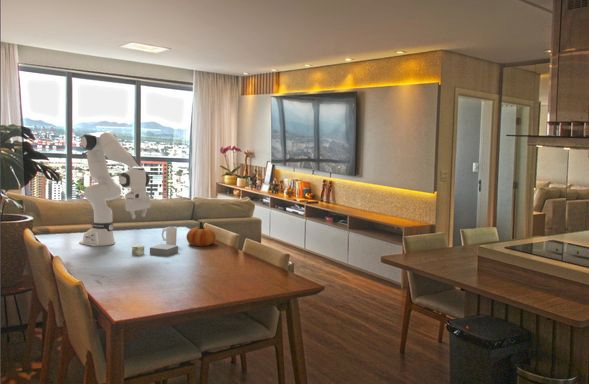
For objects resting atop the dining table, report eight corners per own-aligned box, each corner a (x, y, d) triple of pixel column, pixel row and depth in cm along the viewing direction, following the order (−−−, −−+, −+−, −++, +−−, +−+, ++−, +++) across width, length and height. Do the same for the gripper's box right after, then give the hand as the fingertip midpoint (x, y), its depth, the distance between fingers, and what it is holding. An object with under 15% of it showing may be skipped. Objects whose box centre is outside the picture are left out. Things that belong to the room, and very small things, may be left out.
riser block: (149, 254, 300) (149, 247, 300) (161, 250, 311) (161, 243, 311) (167, 256, 296) (167, 249, 296) (178, 252, 308) (178, 245, 307)
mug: (178, 245, 329) (178, 226, 328) (173, 246, 323) (173, 228, 321) (164, 243, 331) (164, 225, 330) (159, 245, 325) (159, 227, 324)
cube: (132, 254, 298) (132, 246, 297) (137, 253, 302) (137, 244, 302) (139, 255, 296) (139, 247, 296) (144, 253, 301) (144, 245, 300)
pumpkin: (206, 248, 321) (206, 225, 319) (180, 245, 327) (180, 223, 326) (221, 243, 339) (221, 221, 337) (196, 240, 345) (196, 219, 344)
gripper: (144, 192, 307) (144, 215, 308) (123, 195, 288) (123, 219, 289) (153, 192, 305) (153, 215, 306) (132, 195, 286) (132, 219, 287)
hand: (138, 217), depth 297 cm, fingers open, 8 cm apart
